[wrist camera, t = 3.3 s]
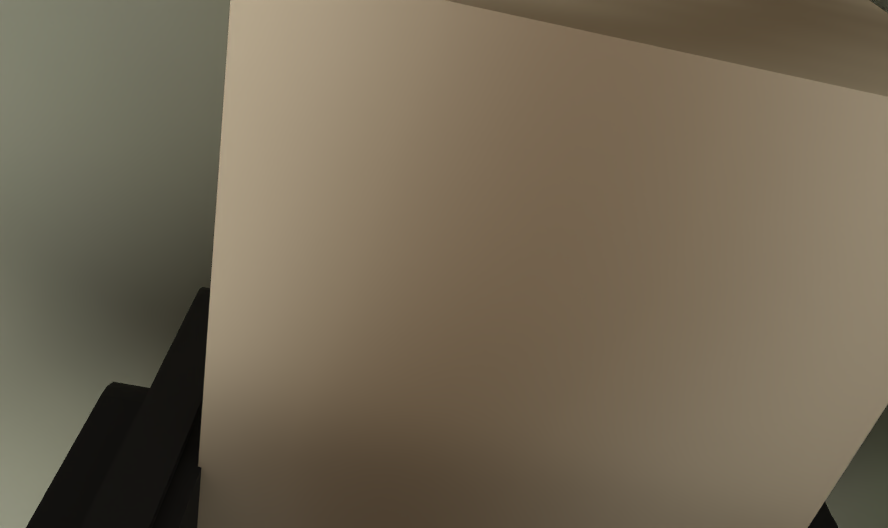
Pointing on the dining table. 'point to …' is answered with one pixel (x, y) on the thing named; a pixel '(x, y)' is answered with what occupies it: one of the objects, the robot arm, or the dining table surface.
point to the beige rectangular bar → (545, 263)
